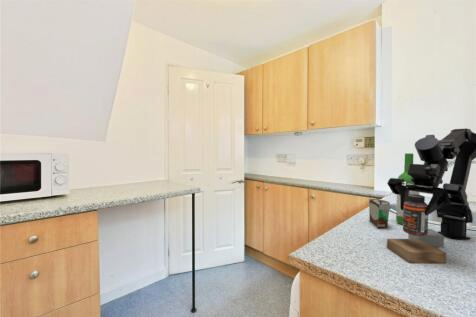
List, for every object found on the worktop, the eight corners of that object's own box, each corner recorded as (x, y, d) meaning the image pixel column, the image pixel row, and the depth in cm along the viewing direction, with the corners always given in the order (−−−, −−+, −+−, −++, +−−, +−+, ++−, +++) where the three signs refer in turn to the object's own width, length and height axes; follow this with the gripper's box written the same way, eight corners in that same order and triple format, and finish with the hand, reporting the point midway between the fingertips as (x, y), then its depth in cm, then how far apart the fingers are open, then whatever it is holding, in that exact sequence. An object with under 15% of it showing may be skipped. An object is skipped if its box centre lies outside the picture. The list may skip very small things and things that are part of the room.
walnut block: (418, 248, 75) (418, 238, 75) (445, 263, 65) (446, 252, 65) (386, 247, 75) (387, 238, 75) (409, 262, 65) (409, 252, 65)
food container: (396, 230, 91) (397, 205, 91) (379, 229, 92) (379, 204, 92) (383, 221, 103) (384, 198, 103) (368, 220, 104) (368, 198, 104)
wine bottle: (411, 228, 95) (413, 153, 94) (391, 222, 102) (393, 153, 101) (422, 225, 98) (425, 153, 97) (403, 220, 105) (405, 153, 104)
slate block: (431, 240, 82) (431, 228, 82) (443, 248, 76) (443, 236, 75) (408, 238, 84) (408, 227, 84) (418, 246, 77) (418, 234, 77)
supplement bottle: (398, 231, 71) (399, 194, 71) (409, 228, 74) (410, 192, 73) (420, 238, 66) (422, 198, 65) (432, 234, 69) (433, 196, 68)
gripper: (390, 154, 79) (370, 189, 74) (464, 155, 63) (445, 200, 58) (402, 175, 83) (384, 210, 78) (474, 182, 67) (457, 226, 62)
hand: (413, 211), depth 69 cm, fingers closed on supplement bottle, 6 cm apart
